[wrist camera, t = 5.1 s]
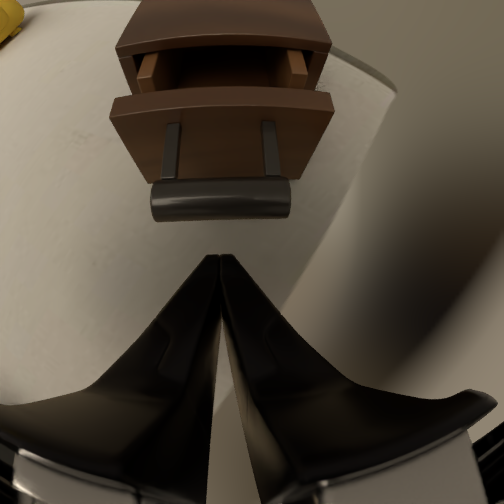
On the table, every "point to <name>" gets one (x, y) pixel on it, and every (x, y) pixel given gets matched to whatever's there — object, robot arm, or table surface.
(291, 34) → the cabinet
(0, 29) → the teapot
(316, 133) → the drawer
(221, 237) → the table surface
